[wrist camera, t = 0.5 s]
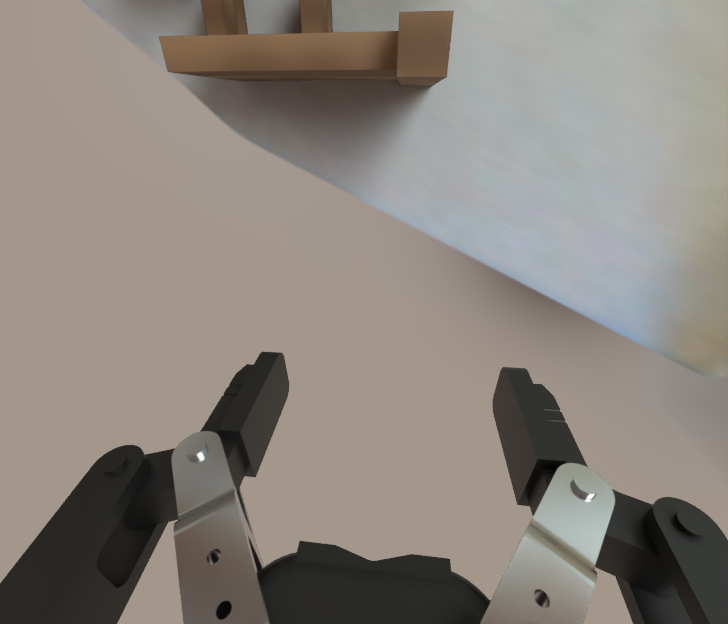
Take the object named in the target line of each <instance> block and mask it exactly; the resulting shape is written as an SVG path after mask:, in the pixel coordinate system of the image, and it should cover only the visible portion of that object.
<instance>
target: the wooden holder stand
mask: <svg viewBox="0 0 728 624" xmlns="http://www.w3.org/2000/svg"><path fill="white" fill-rule="evenodd" d="M201 4H202V9H203V15H204V20H205V25H206V30H207V35H204V36H159V39H160V43H161V47H162V51H163V55H164V59H165V63H166V66H167V70H168V72H173V73H181V74H189V75H197V76H205V77H213V78H221V79H229V80H238V81H262V80H380V79H398V81H399V83H400V86H433V85H435V84H436V83H438V82H439V81H441V80H442V79H444V78H445V77H447V69H448V60H449V50H450V41H451V31H452V22H453V12H454V11H424V12H399V31H386V32H341V33H333V31H332V6H331V0H300V13H301V26H302V33H295V34H250V35H248V31H247V24H246V17H245V10H244V3H243V0H201Z"/></svg>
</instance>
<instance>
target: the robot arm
mask: <svg viewBox="0 0 728 624" xmlns="http://www.w3.org/2000/svg"><path fill="white" fill-rule="evenodd" d="M229 385H230V386H229V387H228V388H227V389H226V391H225V392H224V396H222V397H221V399H220V401H219V402H218V404H217V406H216V407H215V409H214V410H213V412H212V414H211V415H210V417H209V419H208V420H207V422H206V423H205V425H204V427H203V428H202V430H201V431H200V432H197V433H194V434H192V435H190V436H188V437H186V438H185V439H184V440H183V441H182V442H180V443H179V444H178V446H177V447H176V448H175V449H171V450H166V451H161V452H157V453H151V454H146V455H145V454H144V452H143V451H142V449H141V448H139V447H138V446H135V445H125V446H121V447H118V448H115V449H113V450H111V451H109V452H108V453H106V454H104V455H103V456H102V457H101V458H99V459H98V460H97V461H96V462H95V463H94V465H93V466H92V467H91V468H90V470H89V471H88V472H87V473H86V475H85V476H84V477H83V479H82V480H81V481H80V483H79V484H78V485H77V486H76V488H75V489H74V490H73V491H72V493H71V494H70V496H68V498H67V499H66V500H65V502H64V503H63V504H62V505H61V507H60V508H59V510H58V511H57V512H56V513H55V514H54V516H53V517H52V518H51V519H50V521H49V522H48V523H47V525H46V526H45V527H44V528H43V530H42V531H41V532H40V534H39V535H38V536H37V537H36V539H35V540H34V541H33V542H32V544H31V545H30V546H29V548H28V549H27V550H26V551H25V553H24V554H23V555H22V556H21V558H20V559H19V560H18V562H17V563H16V564H15V565H14V567H13V568H12V569H11V571H10V572H9V573H8V574H7V576H6V577H5V578H4V579H3V581H2V582H1V583H0V624H117V622H118V620H119V618H120V616H121V614H122V613H123V610H124V609H125V606H126V604H127V602H128V601H129V599H130V596H131V595H132V593H133V590H134V589H135V587H136V585H137V583H138V581H139V579H140V577H141V575H142V573H143V571H144V569H145V567H146V565H147V563H148V561H149V559H150V557H151V555H152V553H153V551H154V549H155V547H156V545H157V543H158V541H159V539H160V537H161V535H162V533H163V531H164V529H165V527H166V525H167V523H168V522H169V521H174V520H178V521H177V522H176V523H175V524H174V540H175V549H176V558H177V567H178V576H179V586H180V595H181V604H182V613H183V622H184V624H583V623H584V620H585V617H586V613H587V610H588V607H589V604H590V601H591V597H592V594H593V591H594V588H595V584H596V579H597V572H596V571H594V569H595V567H597V568H599V569H601V570H603V571H605V572H607V573H610V574H612V575H614V576H616V579H617V582H618V584H619V587H620V590H621V592H622V595H623V597H624V600H625V603H626V605H627V608H628V611H629V613H630V616H631V619H632V621H633V624H728V540H727V538H726V537H725V535H724V534H723V532H722V531H721V530H720V528H719V527H718V525H717V524H716V523H715V522H714V521H713V520H712V519H711V518H710V517H709V516H708V515H706V514H705V513H704V512H702V511H701V510H700V509H698V508H696V507H695V506H693V505H692V504H690V503H688V502H685V501H683V500H680V499H677V498H672V497H664V498H660V499H658V500H657V501H656V502H655V503H654V504H653V505H652V504H649V503H646V502H643V501H641V500H638V499H635V498H633V497H630V496H627V495H624V494H622V493H619V492H617V491H615V490H613V489H611V487H610V485H609V484H608V483H607V482H606V480H605V479H604V478H603V477H602V476H600V475H599V474H598V473H597V472H595V471H594V470H592V469H590V468H588V466H587V465H586V463H585V461H584V458H583V456H582V454H581V452H580V450H579V448H578V446H577V444H576V442H575V440H574V438H573V435H572V433H571V431H570V429H569V427H568V425H567V423H565V419H564V417H563V415H562V412H560V408H559V406H558V404H557V402H556V400H555V398H554V396H553V395H552V394H551V393H550V392H549V391H548V390H547V389H546V388H545V387H544V386H543V385H541V384H533V382H532V380H531V378H530V375H529V373H528V371H527V369H525V368H509V367H503V368H502V369H501V372H500V375H499V379H498V382H497V386H496V390H495V393H494V397H493V413H494V418H495V421H496V425H497V429H498V433H499V437H500V440H501V444H502V448H503V452H504V456H505V459H506V463H507V467H508V471H509V474H510V478H511V482H512V485H513V490H514V493H515V497H516V501H517V504H518V505H525V506H530V508H531V511H532V515H533V518H532V520H531V522H530V524H529V526H528V527H527V529H526V531H525V533H524V536H523V538H522V539H521V542H520V544H519V546H518V547H517V549H516V551H515V553H514V556H513V557H512V559H511V561H510V564H509V565H508V567H507V569H506V571H505V573H504V575H503V577H502V579H501V581H500V583H499V585H498V587H497V589H496V591H495V593H494V595H493V597H492V599H491V601H490V600H489V599H488V598H487V597H486V596H485V595H484V594H483V593H482V592H481V591H480V590H479V589H478V588H477V587H476V586H475V585H473V584H472V583H471V582H469V581H468V580H467V579H465V578H463V577H462V576H460V575H458V574H456V573H454V572H452V571H451V566H450V559H447V558H437V557H429V556H422V555H413V554H411V555H406V556H400V557H395V558H390V559H384V560H378V561H370V560H367V559H365V558H363V557H361V556H358V555H356V554H354V553H352V552H349V551H347V550H345V549H343V548H340V547H338V546H336V545H329V544H321V543H312V542H304V541H300V542H299V547H298V550H297V552H296V553H291V554H288V555H286V556H283V557H281V558H279V559H277V560H274V561H273V562H271V563H270V564H268V565H267V566H265V567H264V565H263V562H262V558H261V556H260V552H259V550H258V547H257V544H256V541H255V537H254V534H253V531H252V527H251V524H250V520H249V517H248V514H247V510H246V507H245V503H244V500H243V497H242V493H241V489H240V485H241V483H242V480H243V478H244V476H250V477H256V475H257V472H258V470H259V467H260V465H261V462H262V460H263V457H264V455H265V452H266V449H267V447H268V444H269V442H270V440H271V437H272V435H273V432H274V430H275V427H276V424H277V422H278V419H279V417H280V415H281V412H282V409H283V407H284V404H285V402H286V399H287V396H288V392H289V380H288V375H287V370H286V364H285V360H284V356H283V354H282V353H276V352H262V353H261V354H260V355H259V357H258V358H257V360H256V362H255V364H254V365H248V364H247V365H246V366H245V367H243V368H242V369H241V370H240V371H239V372H237V373H236V375H235V376H234V378H233V379H232V381H231V383H230V384H229Z"/></svg>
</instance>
